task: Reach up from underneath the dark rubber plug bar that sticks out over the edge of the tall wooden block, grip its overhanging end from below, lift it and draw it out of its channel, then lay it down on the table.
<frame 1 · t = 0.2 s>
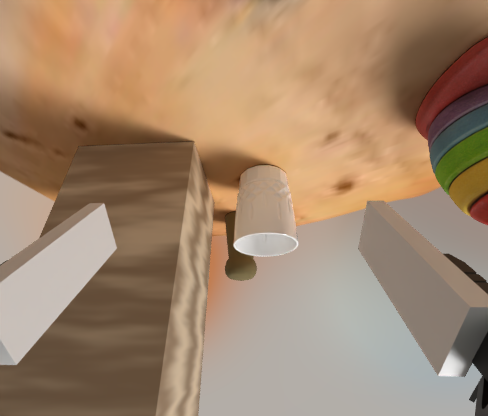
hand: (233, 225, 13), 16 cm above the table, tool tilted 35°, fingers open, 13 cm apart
white cup: (263, 178, 36), on the table
tall wooden block: (157, 178, 36), on the table
stacking bear: (471, 97, 25), on the table
olive pawn: (241, 217, 47), on the table
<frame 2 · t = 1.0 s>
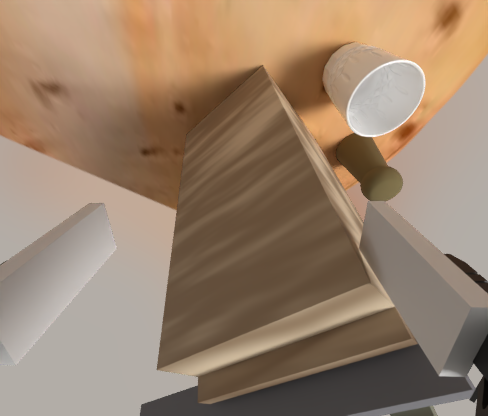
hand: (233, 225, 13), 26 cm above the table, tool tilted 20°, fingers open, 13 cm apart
white cup: (347, 71, 34), on the table
tall wooden block: (253, 137, 39), on the table
plug bar: (260, 372, 19), point 30 cm above the table, touching tall wooden block
olive pawn: (353, 148, 42), on the table
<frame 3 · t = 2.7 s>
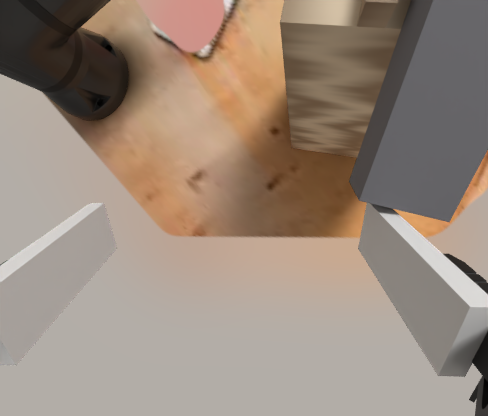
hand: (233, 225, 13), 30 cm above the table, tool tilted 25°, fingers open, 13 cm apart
tall wooden block: (345, 109, 40), on the table
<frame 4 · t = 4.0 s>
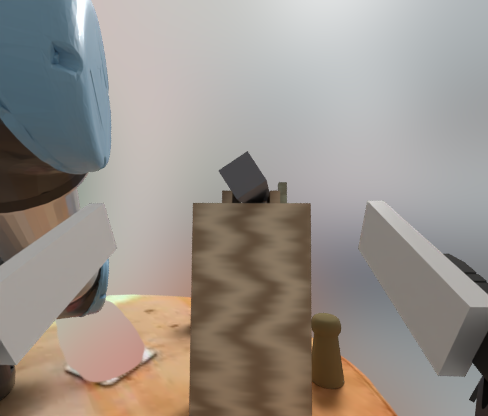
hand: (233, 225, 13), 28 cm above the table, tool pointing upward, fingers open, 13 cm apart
plug bar: (259, 200, 37), point 31 cm above the table, tilted 33°, touching tall wooden block
olive pawn: (326, 379, 46), on the table
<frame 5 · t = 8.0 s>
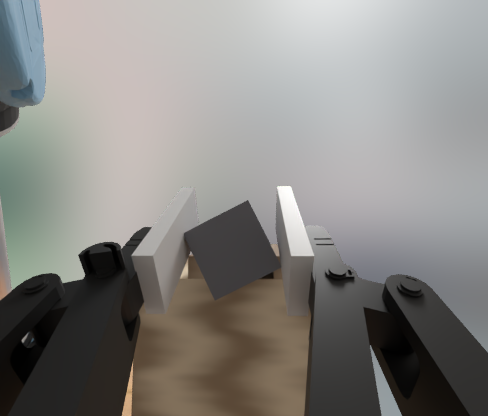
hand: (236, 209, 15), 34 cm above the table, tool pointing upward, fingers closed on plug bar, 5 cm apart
plug bar: (254, 255, 24), point 31 cm above the table, tilted 27°, touching gripper, tall wooden block
when the fingers open (9 cm above the table, at t = 14.9 s): plug bar drops 4 cm, on the table.
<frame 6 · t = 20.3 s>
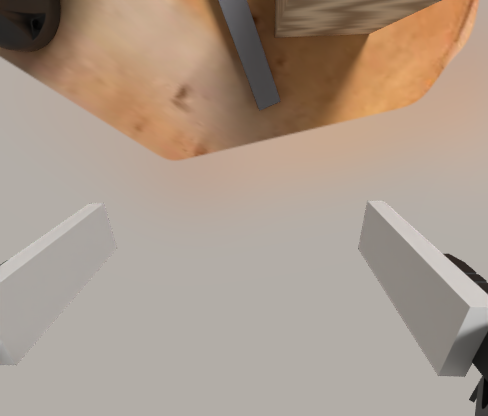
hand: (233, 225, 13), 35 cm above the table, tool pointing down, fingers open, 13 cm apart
plug bar: (240, 25, 39), on the table
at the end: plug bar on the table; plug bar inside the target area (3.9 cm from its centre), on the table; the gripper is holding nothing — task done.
